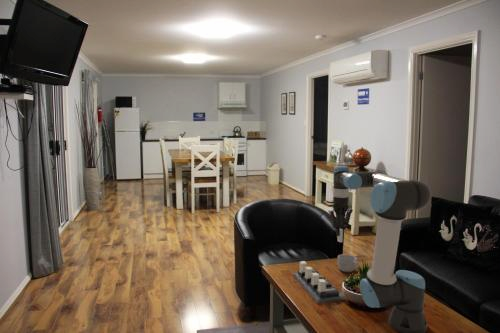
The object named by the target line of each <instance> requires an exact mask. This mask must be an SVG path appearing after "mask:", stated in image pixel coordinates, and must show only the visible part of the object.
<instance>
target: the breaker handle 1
mask: <svg viewBox="0 0 500 333" xmlns="http://www.w3.org/2000/svg"><path fill="white" fill-rule="evenodd" d="M305 267H308V264H307V262H306V260H302V261H299V270H300V271H301V272H302V273H303V272H305Z"/></svg>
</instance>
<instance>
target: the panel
mask: <svg viewBox="0 0 500 333" xmlns="http://www.w3.org/2000/svg"><path fill="white" fill-rule="evenodd" d="M312 269H313V273H318V274H319V279H324V280H325V281H326V291H325V292H320V291H319V290H318V285H313V284H312V283H311V278H309V279H307V278H306V277H305V272H303V273H302V272H301V271H300V269H298V270H297V272H293V278H294V279H295V280H296V281H297V283H299V285H300V286H301V287H302V288H303V289H304V291H306V292H307V294H308V295H310V296H309V297H311V298H312V299H313V301H314V302H316V304H325V303H330V302H331V303H332V302H338V301H339V302H340V301H344V300H345V295H344V293H342V292H341V291H340V290H339V289H337V287H335V286H334V285H333V284H332V283H331V282H330V281H329V280H328V279H327V278H326V277H325V276H324V275H322V274H321V273H320V272H319V271H318V270H317V269H316V268H312Z"/></svg>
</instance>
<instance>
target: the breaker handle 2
mask: <svg viewBox="0 0 500 333" xmlns="http://www.w3.org/2000/svg"><path fill="white" fill-rule="evenodd" d="M313 269H314V268H312V267H311V266H307V267H305V277H306V278H307V279H309V278H311V273H313Z"/></svg>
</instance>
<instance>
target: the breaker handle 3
mask: <svg viewBox="0 0 500 333" xmlns="http://www.w3.org/2000/svg"><path fill="white" fill-rule="evenodd" d="M318 279H319V274H318V273H311V283H312V284H313V285H318Z"/></svg>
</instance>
